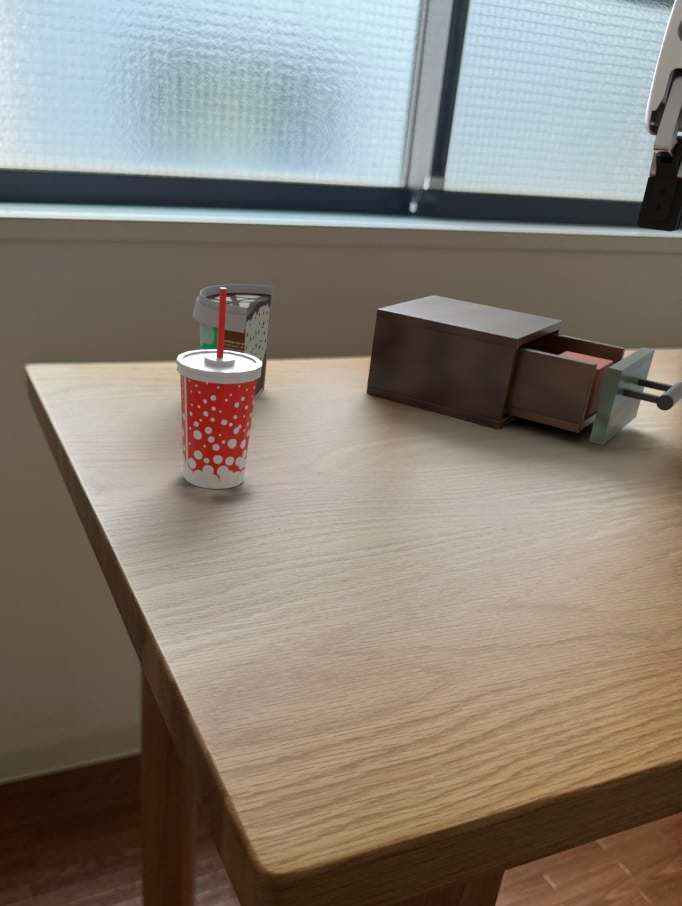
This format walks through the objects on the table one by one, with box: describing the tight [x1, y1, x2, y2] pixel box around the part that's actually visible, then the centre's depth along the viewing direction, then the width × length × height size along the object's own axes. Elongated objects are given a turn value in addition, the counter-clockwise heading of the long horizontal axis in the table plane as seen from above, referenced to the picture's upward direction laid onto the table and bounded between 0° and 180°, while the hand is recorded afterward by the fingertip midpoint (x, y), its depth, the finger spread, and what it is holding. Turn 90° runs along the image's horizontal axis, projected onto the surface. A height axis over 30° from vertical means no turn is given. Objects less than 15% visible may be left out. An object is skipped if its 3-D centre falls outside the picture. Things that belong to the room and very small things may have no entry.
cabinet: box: [366, 294, 564, 430], centre depth 87 cm, size 15×13×9 cm
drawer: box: [505, 333, 682, 446], centre depth 81 cm, size 18×11×7 cm, turn 54°
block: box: [560, 351, 614, 417], centre depth 81 cm, size 5×5×5 cm
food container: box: [192, 283, 275, 402], centre depth 80 cm, size 12×6×10 cm, turn 168°
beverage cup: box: [176, 288, 262, 490], centre depth 61 cm, size 6×6×14 cm
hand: (657, 228), depth 73 cm, fingers closed
